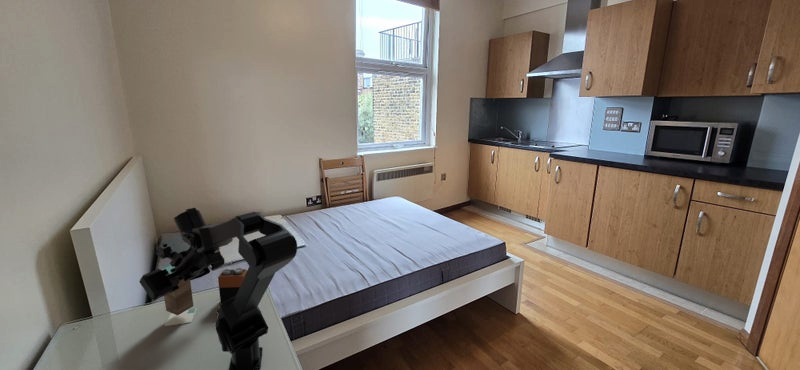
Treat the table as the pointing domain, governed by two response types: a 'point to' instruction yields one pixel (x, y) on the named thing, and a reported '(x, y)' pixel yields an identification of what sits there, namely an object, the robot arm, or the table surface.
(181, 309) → the block
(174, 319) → the pad
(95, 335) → the table surface
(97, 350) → the table surface
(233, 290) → the battery
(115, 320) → the table surface
